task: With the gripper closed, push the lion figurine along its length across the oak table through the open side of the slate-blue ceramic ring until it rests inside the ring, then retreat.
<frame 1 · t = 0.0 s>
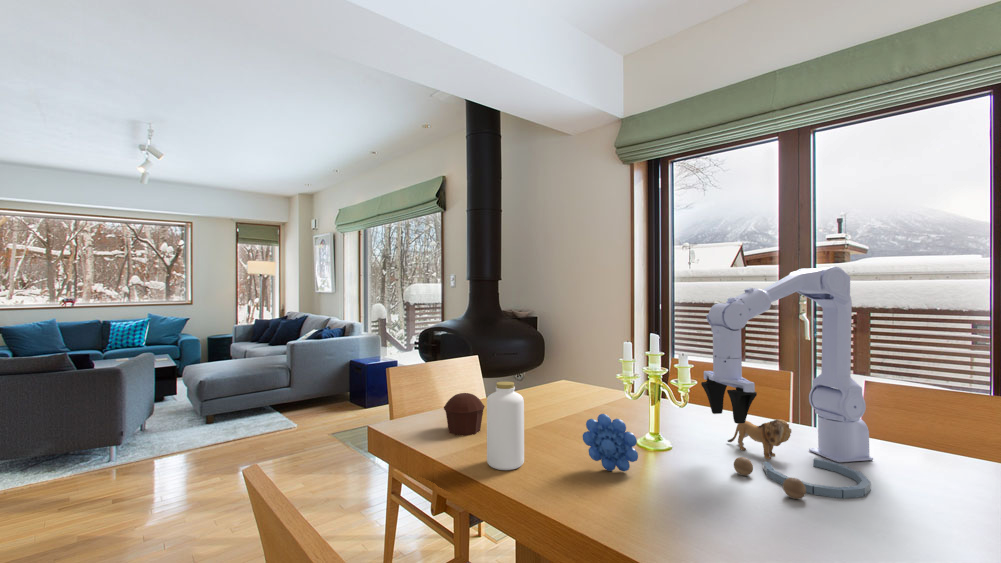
hand: (727, 418, 100), 10 cm above the table, tool pointing down, fingers open, 7 cm apart
groove ring: (813, 478, 92), on the table
walnut bead b: (743, 474, 94), on the table
white bottle: (505, 465, 100), on the table
muffin: (464, 431, 124), on the table
lion figurine: (760, 453, 107), on the table
blue flower: (609, 473, 95), on the table
walnut bead a: (794, 497, 83), on the table
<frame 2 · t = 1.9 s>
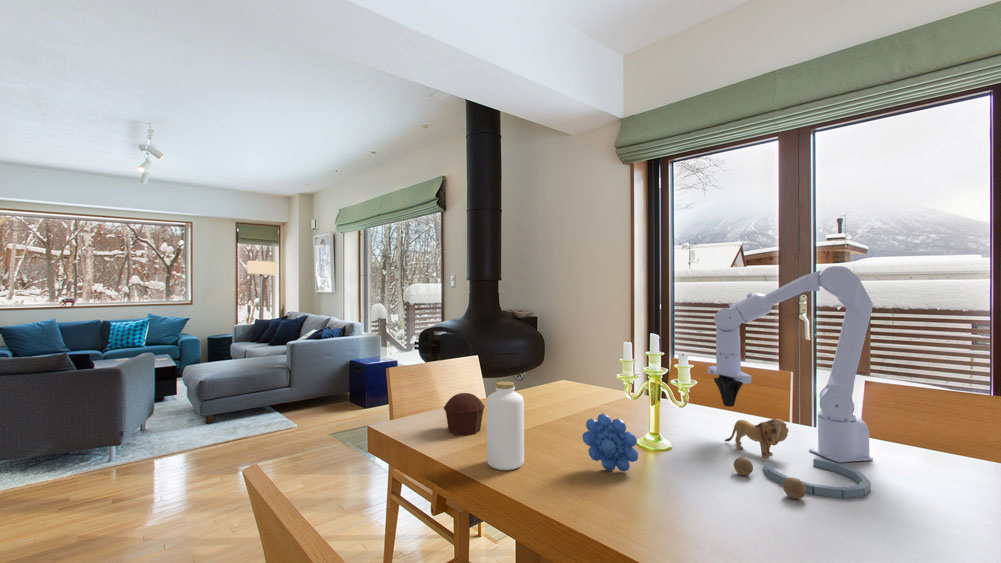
hand: (728, 405, 118), 8 cm above the table, tool pointing down, fingers closed
nothing on the table moved.
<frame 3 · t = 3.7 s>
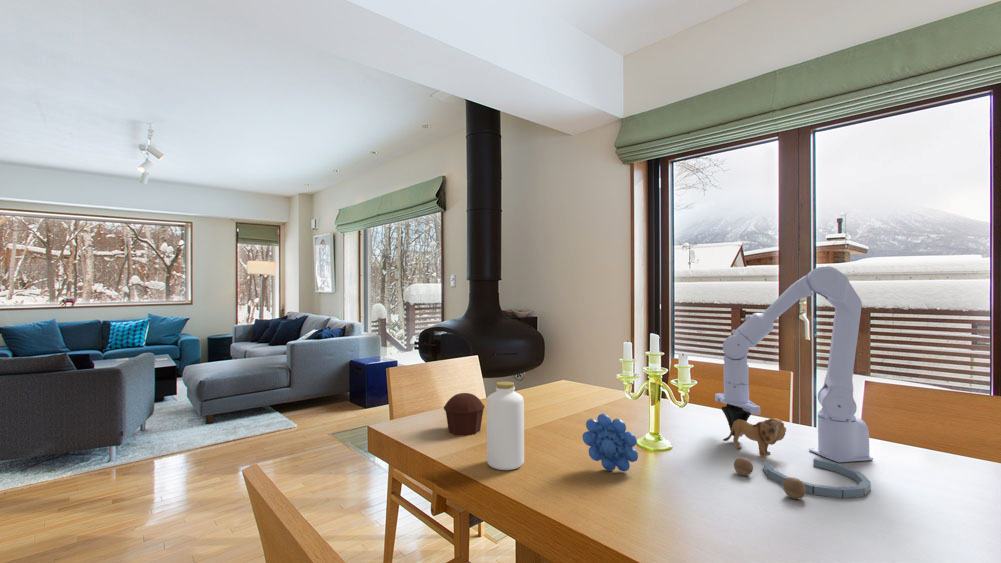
hand: (736, 435, 115), 1 cm above the table, tool pointing down, fingers closed
lion figurine: (755, 452, 108), on the table, touching gripper
everything else where it was.
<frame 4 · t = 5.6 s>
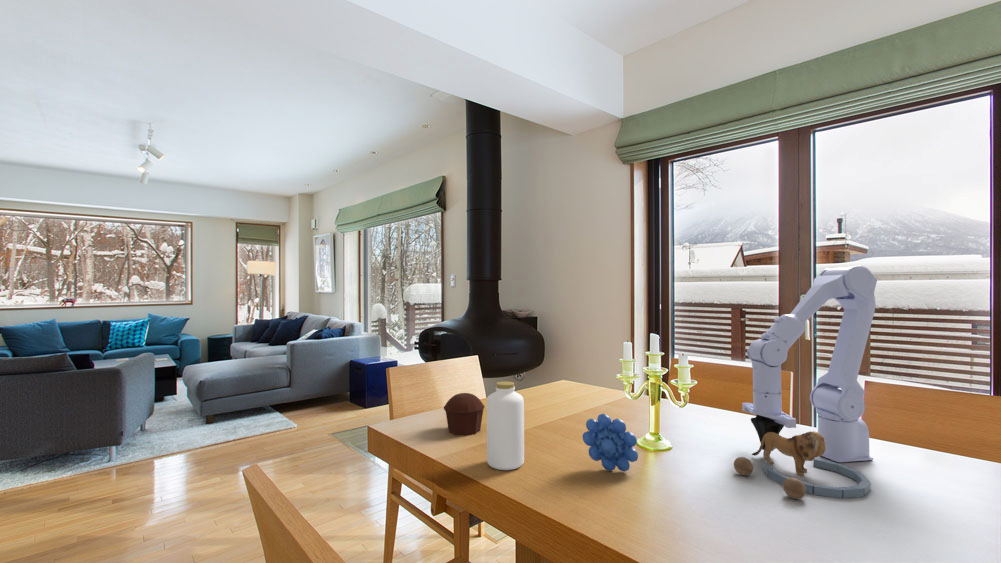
hand: (767, 450, 104), 1 cm above the table, tool pointing down, fingers closed
lion figurine: (789, 468, 98), on the table, touching gripper
everything else where it was.
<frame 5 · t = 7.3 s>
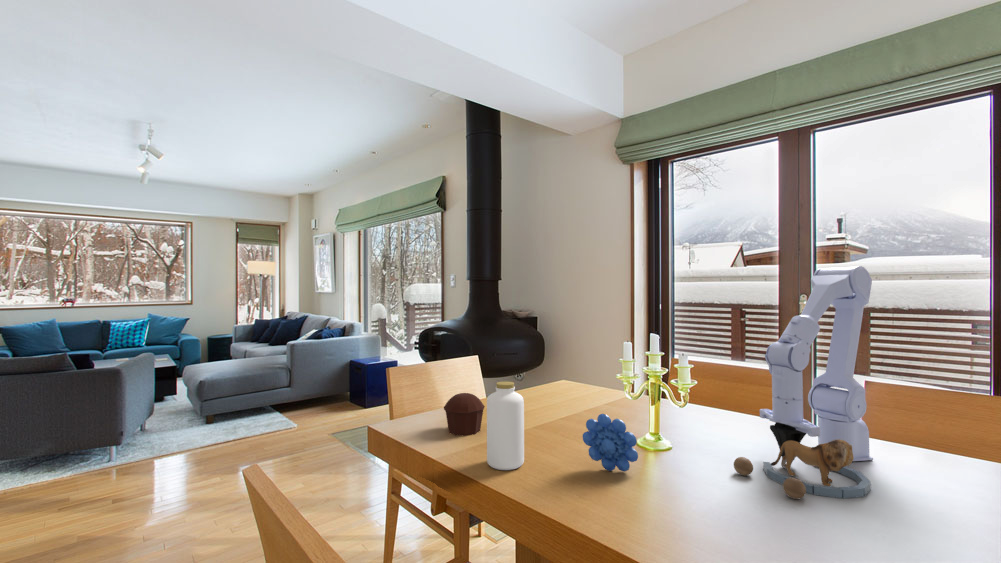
hand: (788, 459, 98), 1 cm above the table, tool pointing down, fingers closed
lion figurine: (812, 479, 92), on the table, touching gripper
everything else where it was.
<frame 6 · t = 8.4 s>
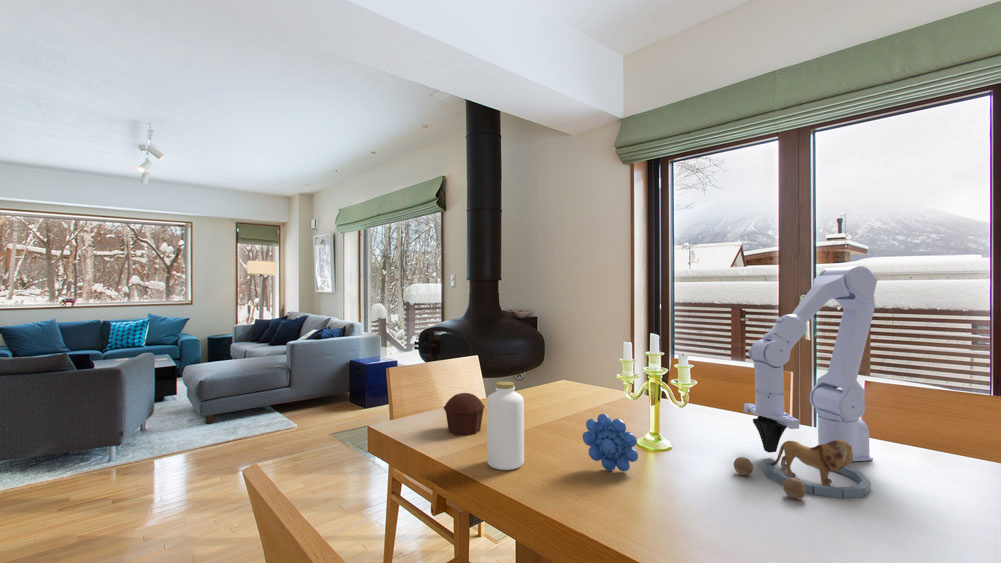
hand: (770, 451, 104), 1 cm above the table, tool pointing down, fingers closed
lion figurine: (812, 479, 92), on the table
everything else where it was.
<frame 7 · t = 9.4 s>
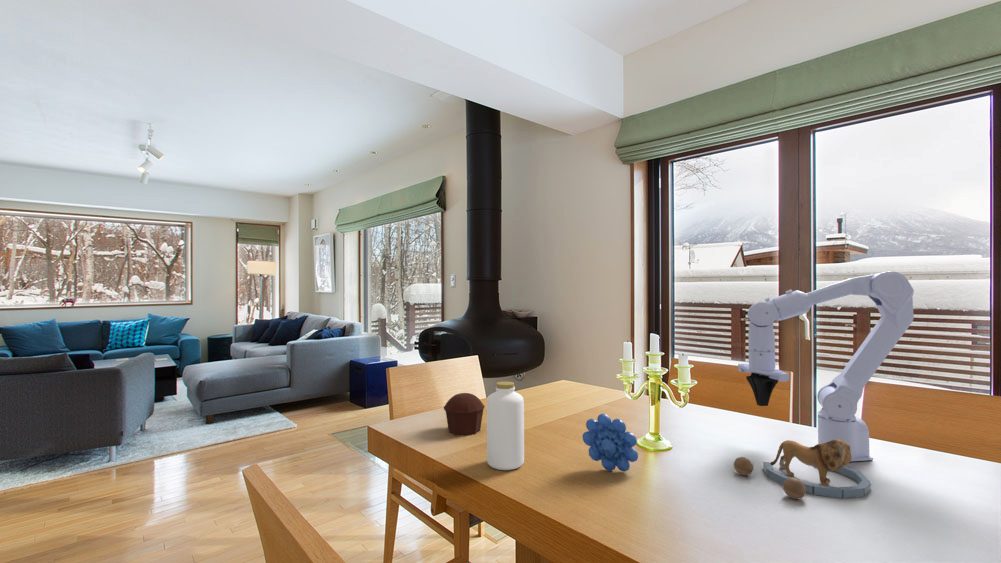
hand: (762, 405, 112), 10 cm above the table, tool pointing down, fingers closed
nothing on the table moved.
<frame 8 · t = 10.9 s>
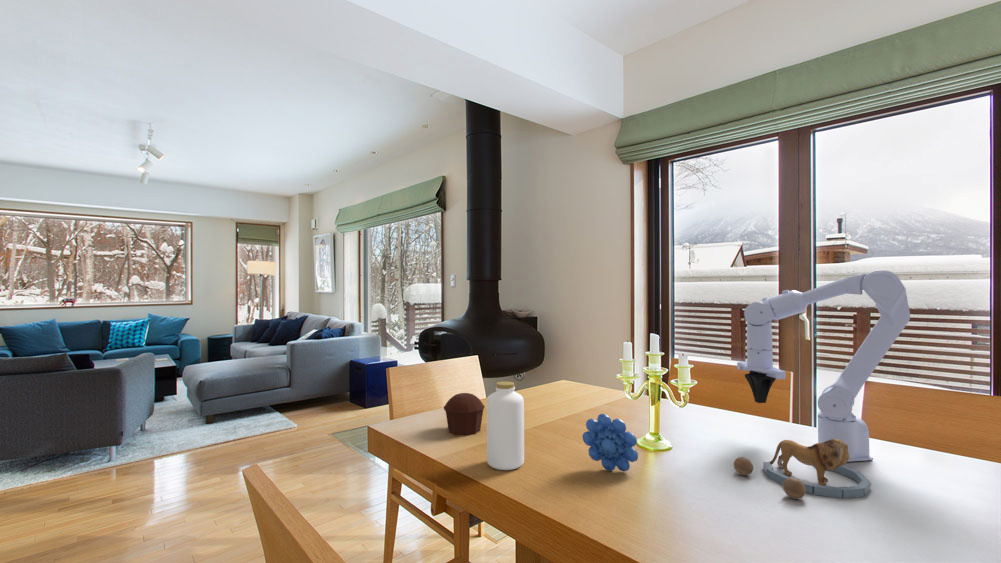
hand: (760, 402, 115), 10 cm above the table, tool pointing down, fingers closed
nothing on the table moved.
at the end: lion figurine 1.0 cm from the groove ring (horizontally); lion figurine tilted 0°; lion figurine moved 14.2 cm from its start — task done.
